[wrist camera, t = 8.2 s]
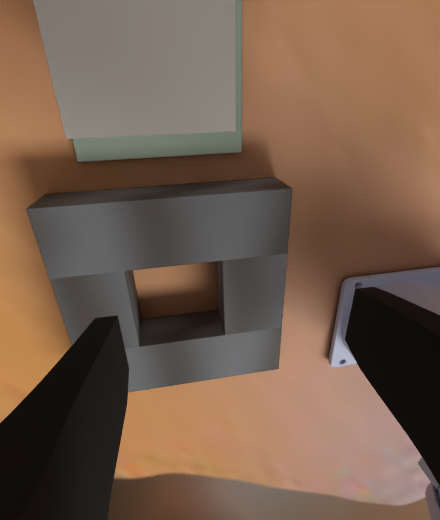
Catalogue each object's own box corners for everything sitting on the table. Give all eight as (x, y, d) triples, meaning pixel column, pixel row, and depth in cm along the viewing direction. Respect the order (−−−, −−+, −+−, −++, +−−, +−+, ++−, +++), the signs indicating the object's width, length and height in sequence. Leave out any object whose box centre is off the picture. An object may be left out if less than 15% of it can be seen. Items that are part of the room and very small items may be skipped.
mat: (239, -58, 12) (241, -63, 12) (239, 151, 16) (241, 152, 16) (27, -65, 11) (22, -70, 11) (79, 160, 15) (78, 162, 15)
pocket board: (275, 177, 17) (292, 188, 15) (267, 342, 23) (278, 368, 20) (45, 193, 15) (26, 209, 13) (97, 367, 21) (89, 398, 19)
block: (195, 12, 13) (235, -99, 6) (200, 117, 15) (236, 131, 8) (95, 11, 12) (5, -113, 5) (114, 120, 14) (66, 138, 7)
